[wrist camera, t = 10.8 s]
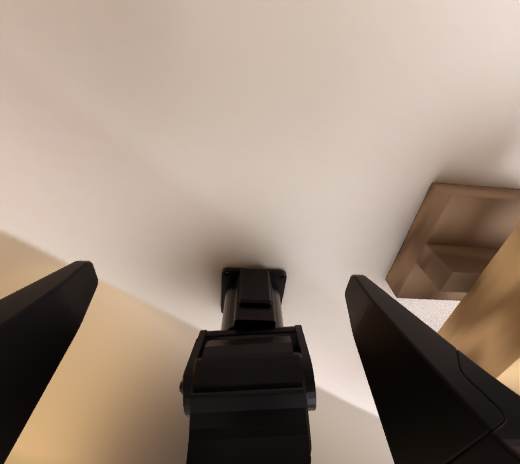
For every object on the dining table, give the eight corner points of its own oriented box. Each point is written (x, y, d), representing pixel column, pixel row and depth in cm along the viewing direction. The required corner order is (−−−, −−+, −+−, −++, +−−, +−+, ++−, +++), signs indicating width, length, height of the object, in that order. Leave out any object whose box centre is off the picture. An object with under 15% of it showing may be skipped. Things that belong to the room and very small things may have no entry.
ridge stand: (456, 283, 28) (501, 331, 23) (385, 279, 27) (415, 328, 22) (521, 189, 22) (601, 226, 17) (432, 182, 21) (488, 218, 16)
